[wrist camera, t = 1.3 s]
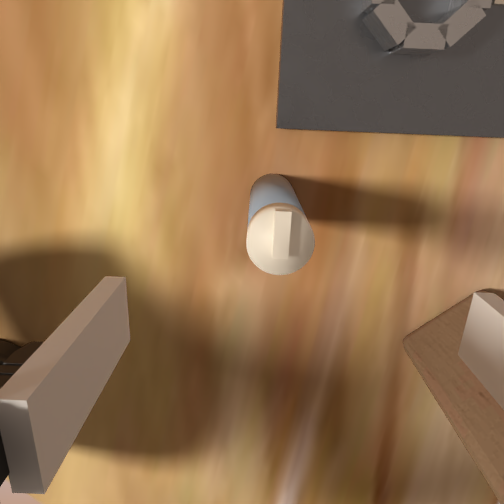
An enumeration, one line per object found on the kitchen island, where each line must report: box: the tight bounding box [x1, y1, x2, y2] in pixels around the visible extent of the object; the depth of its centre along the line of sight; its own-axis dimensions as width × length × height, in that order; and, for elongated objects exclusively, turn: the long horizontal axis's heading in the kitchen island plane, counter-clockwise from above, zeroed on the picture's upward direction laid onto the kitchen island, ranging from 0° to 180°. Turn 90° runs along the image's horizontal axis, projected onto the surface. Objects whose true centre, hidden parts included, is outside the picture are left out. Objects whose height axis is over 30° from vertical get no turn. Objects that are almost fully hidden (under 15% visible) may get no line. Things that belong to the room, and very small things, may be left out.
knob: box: [246, 174, 315, 275], centre depth 29 cm, size 4×4×15 cm
